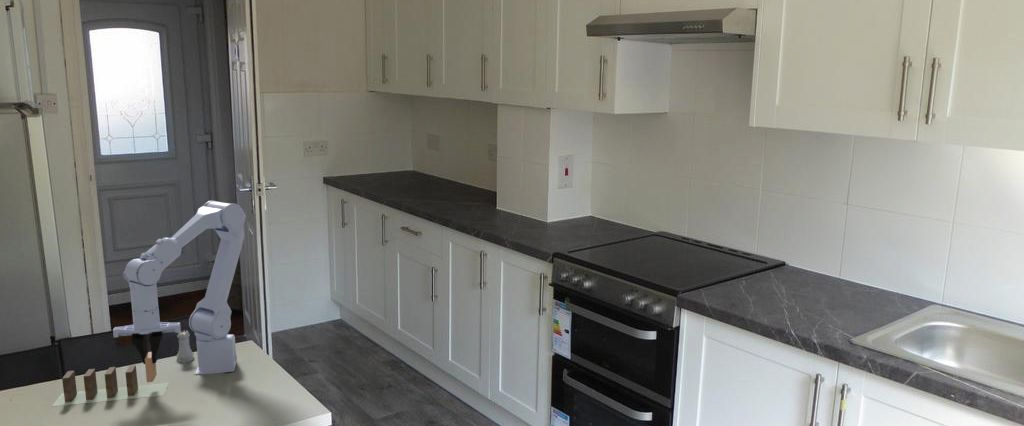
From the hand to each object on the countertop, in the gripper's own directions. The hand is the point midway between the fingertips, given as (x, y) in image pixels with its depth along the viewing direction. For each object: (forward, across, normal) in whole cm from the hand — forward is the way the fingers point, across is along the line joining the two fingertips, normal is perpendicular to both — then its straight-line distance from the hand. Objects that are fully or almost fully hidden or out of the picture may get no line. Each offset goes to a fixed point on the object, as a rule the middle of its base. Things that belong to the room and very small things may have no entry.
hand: (150, 362), depth 183 cm
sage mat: (+8, -9, 0) cm, 12 cm away
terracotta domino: (+4, 0, 0) cm, 4 cm away
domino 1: (+7, -18, 0) cm, 19 cm away
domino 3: (+7, -9, 0) cm, 12 cm away
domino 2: (+7, -14, 0) cm, 15 cm away
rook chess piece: (+8, +4, +20) cm, 21 cm away
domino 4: (+7, -4, 0) cm, 8 cm away
